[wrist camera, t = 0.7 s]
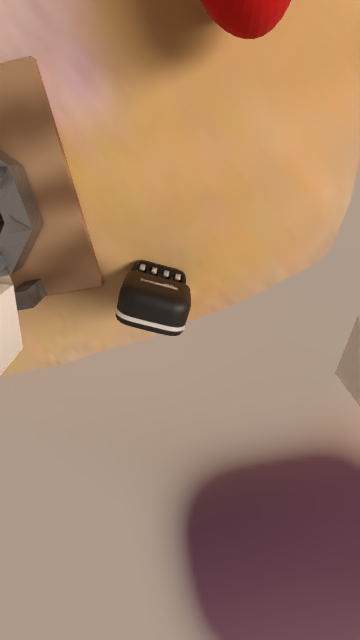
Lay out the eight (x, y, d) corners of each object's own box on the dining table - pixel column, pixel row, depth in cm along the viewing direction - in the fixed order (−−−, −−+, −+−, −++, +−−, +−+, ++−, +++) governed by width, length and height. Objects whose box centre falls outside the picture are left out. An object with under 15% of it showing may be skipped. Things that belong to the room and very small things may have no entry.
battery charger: (191, 266, 38) (196, 305, 27) (183, 295, 39) (184, 341, 29) (134, 250, 37) (117, 284, 26) (128, 280, 38) (109, 323, 28)
